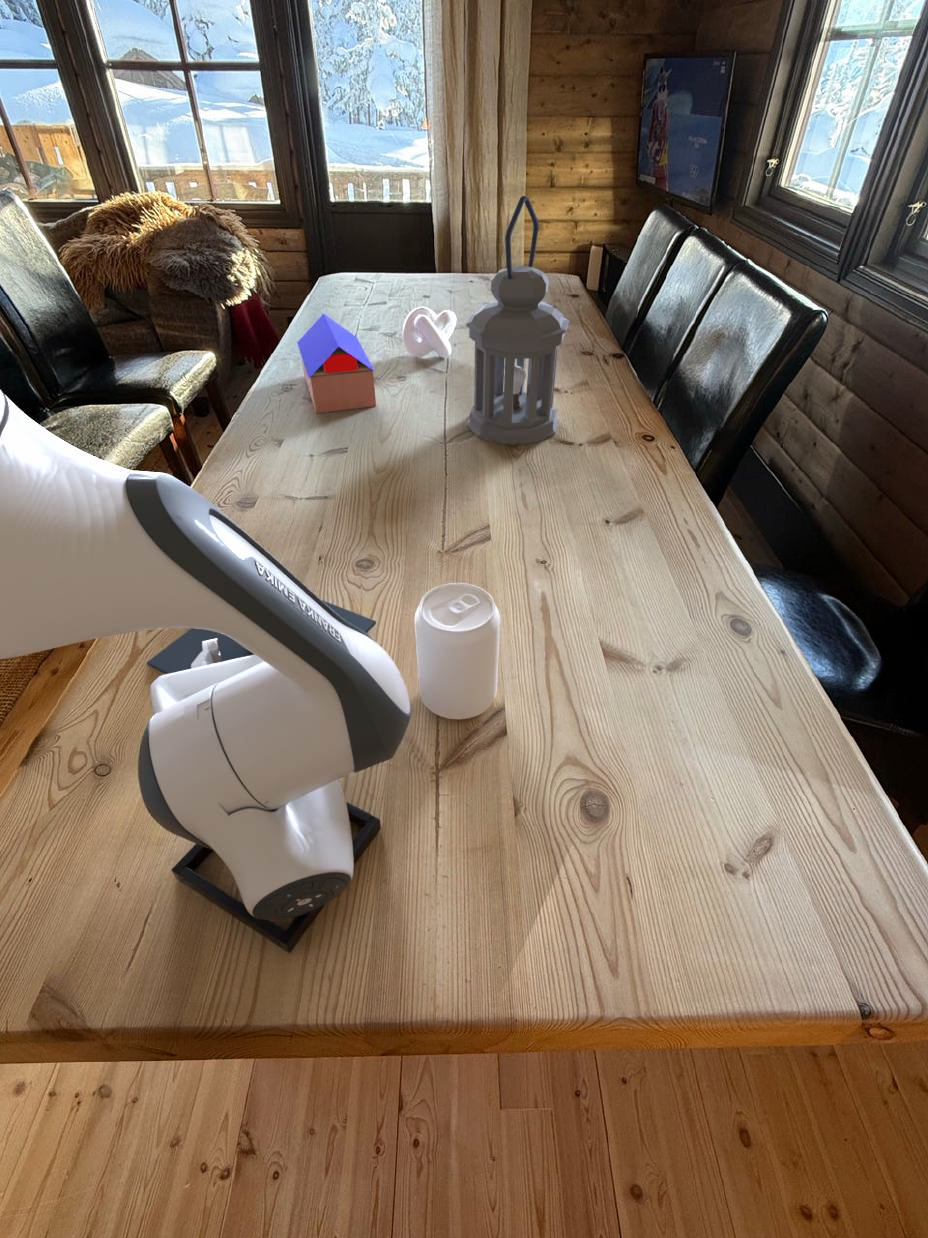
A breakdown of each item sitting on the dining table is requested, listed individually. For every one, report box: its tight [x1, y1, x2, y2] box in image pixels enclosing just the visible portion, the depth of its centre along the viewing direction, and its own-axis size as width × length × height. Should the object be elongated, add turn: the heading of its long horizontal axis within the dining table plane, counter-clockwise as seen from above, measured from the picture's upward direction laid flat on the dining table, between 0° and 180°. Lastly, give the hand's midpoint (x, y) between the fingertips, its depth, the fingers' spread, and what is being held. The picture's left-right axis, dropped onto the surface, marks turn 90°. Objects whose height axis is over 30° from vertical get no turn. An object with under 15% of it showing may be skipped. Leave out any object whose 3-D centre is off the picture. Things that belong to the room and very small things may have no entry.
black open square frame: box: [171, 801, 382, 954], centre depth 55 cm, size 12×12×2 cm
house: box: [296, 313, 377, 414], centre depth 127 cm, size 12×20×12 cm, turn 17°
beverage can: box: [414, 582, 501, 720], centre depth 65 cm, size 8×8×12 cm
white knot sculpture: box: [402, 306, 457, 359], centre depth 142 cm, size 11×12×9 cm
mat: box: [146, 599, 377, 675], centre depth 75 cm, size 18×18×1 cm
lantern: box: [465, 195, 570, 446], centre depth 107 cm, size 17×17×35 cm
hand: (259, 633), depth 67 cm, fingers open, 8 cm apart
